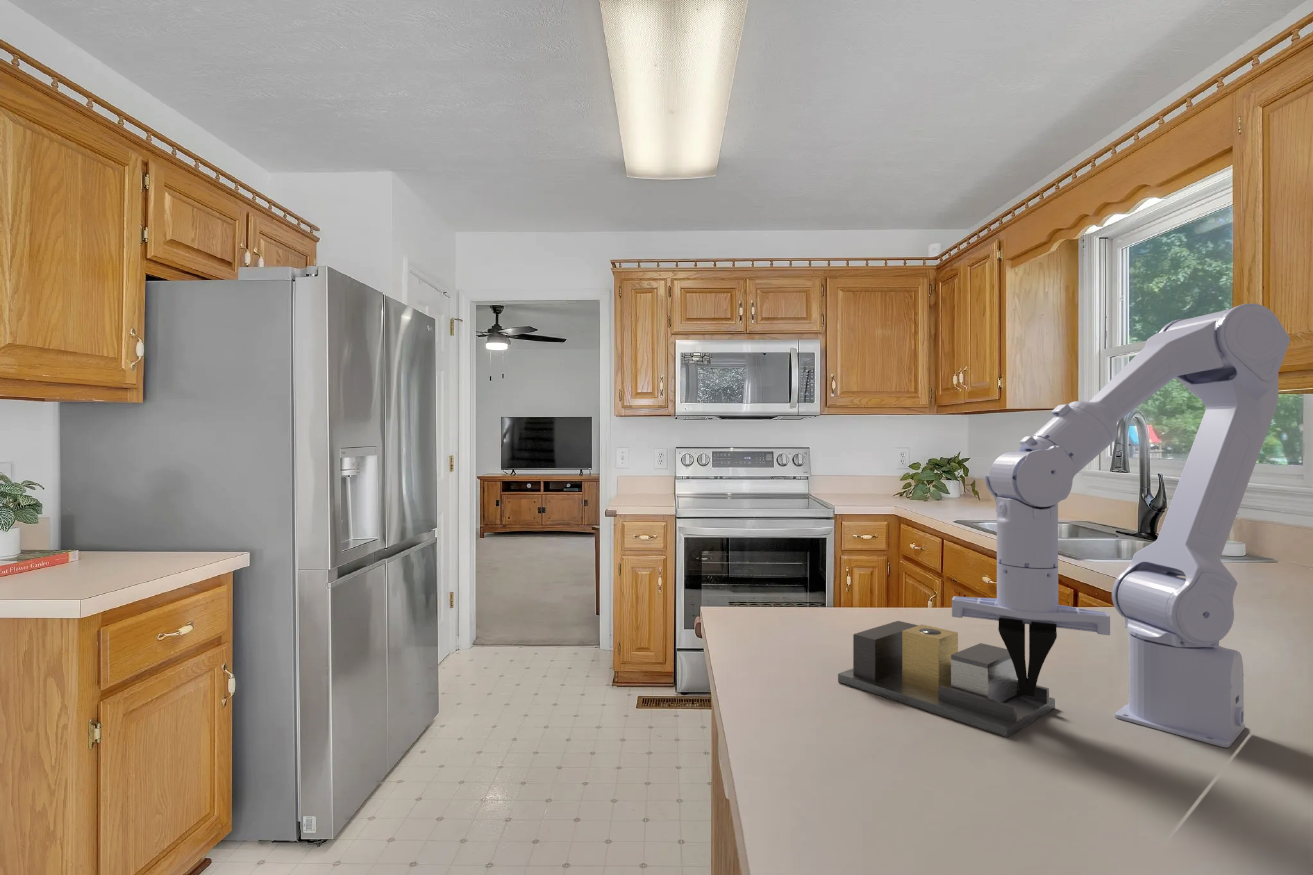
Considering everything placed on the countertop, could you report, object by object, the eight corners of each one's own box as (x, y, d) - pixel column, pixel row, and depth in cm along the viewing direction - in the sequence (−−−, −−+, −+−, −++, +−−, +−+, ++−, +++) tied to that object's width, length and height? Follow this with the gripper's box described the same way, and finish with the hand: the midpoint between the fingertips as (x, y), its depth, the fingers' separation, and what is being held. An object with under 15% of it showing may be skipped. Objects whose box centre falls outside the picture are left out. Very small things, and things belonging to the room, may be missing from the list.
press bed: (1054, 707, 74) (1054, 653, 74) (1007, 737, 67) (1006, 676, 67) (891, 661, 90) (891, 617, 90) (838, 681, 82) (838, 632, 82)
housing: (957, 683, 79) (957, 632, 79) (938, 692, 76) (938, 638, 76) (922, 673, 82) (921, 624, 82) (902, 681, 80) (902, 630, 80)
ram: (1016, 694, 75) (1016, 651, 75) (988, 709, 71) (987, 664, 71) (980, 684, 78) (980, 642, 78) (951, 698, 74) (951, 654, 74)
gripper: (1105, 564, 71) (1105, 692, 71) (955, 553, 78) (955, 669, 78) (1112, 575, 65) (1112, 716, 65) (949, 562, 72) (949, 689, 72)
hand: (1027, 692), depth 71 cm, fingers closed
